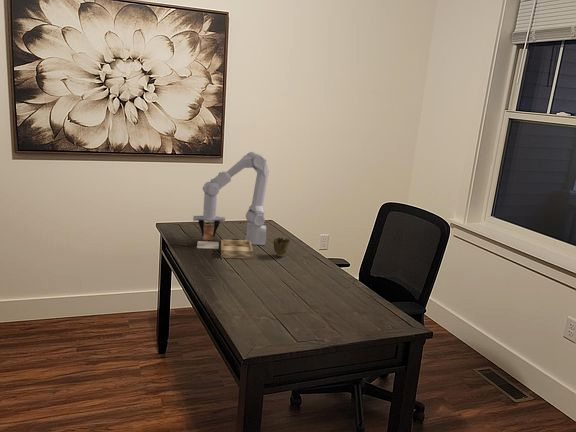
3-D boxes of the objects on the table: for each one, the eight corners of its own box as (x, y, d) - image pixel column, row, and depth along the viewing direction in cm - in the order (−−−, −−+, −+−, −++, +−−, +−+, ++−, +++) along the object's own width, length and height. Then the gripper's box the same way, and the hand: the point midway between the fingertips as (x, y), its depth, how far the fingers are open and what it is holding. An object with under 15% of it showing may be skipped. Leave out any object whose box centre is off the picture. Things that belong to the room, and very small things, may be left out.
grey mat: (218, 242, 254) (218, 242, 254) (218, 249, 244) (218, 248, 244) (197, 241, 252) (197, 241, 252) (196, 248, 243) (196, 247, 243)
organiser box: (250, 247, 250) (250, 240, 249) (252, 258, 235) (253, 251, 234) (220, 246, 248) (221, 239, 247) (220, 257, 233) (221, 249, 232)
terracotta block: (213, 237, 250) (213, 225, 249) (213, 239, 246) (213, 227, 244) (203, 236, 249) (204, 224, 248) (203, 239, 245) (203, 227, 244)
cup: (269, 256, 240) (270, 239, 238) (275, 252, 246) (277, 236, 244) (284, 259, 237) (286, 242, 235) (290, 255, 244) (292, 239, 242)
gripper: (193, 209, 239) (192, 237, 242) (225, 210, 241) (224, 239, 244) (194, 205, 246) (193, 233, 249) (225, 207, 248) (223, 234, 251)
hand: (208, 236), depth 247 cm, fingers closed on terracotta block, 4 cm apart
